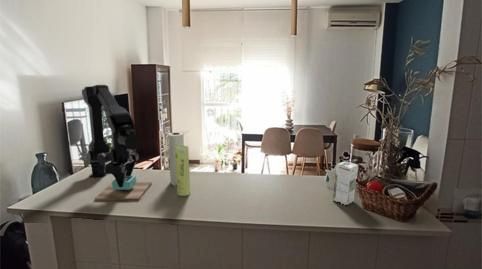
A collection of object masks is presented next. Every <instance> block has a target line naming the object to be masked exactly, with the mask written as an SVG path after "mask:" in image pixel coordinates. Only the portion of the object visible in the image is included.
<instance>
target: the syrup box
mask: <svg viewBox="0 0 482 269" xmlns="http://www.w3.org/2000/svg"><path fill="white" fill-rule="evenodd" d="M358 172H359V164H356V163H354V162H350V161H349V162H348V161H342V162H339V163H337V164H336V166H335V174H334V186H333V196H332V201H333V200H336V201H338V202H341V203H344V204H349V203H350V202H352V201H354V202H355V198H356V189H357V182H356V179H358Z"/></svg>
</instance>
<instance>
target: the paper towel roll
mask: <svg viewBox="0 0 482 269" xmlns="http://www.w3.org/2000/svg"><path fill="white" fill-rule="evenodd" d="M184 142H185V141H184V133H183V132H176V131H175V132H170V133H168V153H169V154H168V155H169V156H168V157H169V158H168V159H169V161H168V162H169V173H170V174H169V176H170V178H169V180H170V181H169V182H170V184H171V185H172V186H174V187H176V186H177V176H176V155H175V144H179V145H183V146H185V145H184V144H185V143H184Z"/></svg>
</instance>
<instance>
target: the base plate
mask: <svg viewBox="0 0 482 269" xmlns="http://www.w3.org/2000/svg"><path fill="white" fill-rule="evenodd" d="M152 184H153V183H152V181H151V182H150V181H149V182H148V181H136V184H135V185H134V186H133V187H132V188H131V189H130V190H127V191H122V190H120V189H112V182H111V183H110V184H108V186H107V187H106V188H104V189H103V190H102V191H101V192H100V193H98V195H96V196H95V197H94V201H96V202H139V201H140V200H141V199H142V198H143V196H144V195H145V194H146V192H148V190H149V189H150V188H151V186H152Z"/></svg>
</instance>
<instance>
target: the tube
mask: <svg viewBox="0 0 482 269" xmlns="http://www.w3.org/2000/svg"><path fill="white" fill-rule="evenodd" d="M175 155H176V176H177V185H176V192H177V195H178V196H180V197H186V196H189V195H190V194H191V181H190V180H191V179H190V162H189V161H190V159H189V158H190V157H189V146H188V145H187V146H186V145H184V146H183V145H179V144H175Z"/></svg>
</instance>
